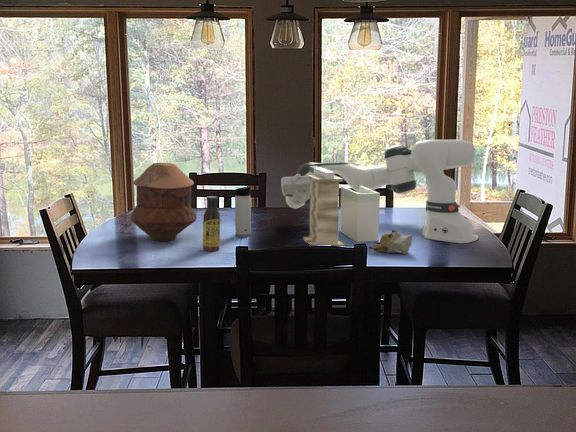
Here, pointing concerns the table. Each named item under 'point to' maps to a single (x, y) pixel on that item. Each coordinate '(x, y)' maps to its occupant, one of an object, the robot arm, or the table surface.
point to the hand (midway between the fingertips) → (309, 175)
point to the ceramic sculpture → (393, 243)
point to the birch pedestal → (324, 211)
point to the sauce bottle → (211, 225)
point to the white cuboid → (360, 214)
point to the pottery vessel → (163, 202)
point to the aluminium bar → (321, 172)
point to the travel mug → (243, 212)
